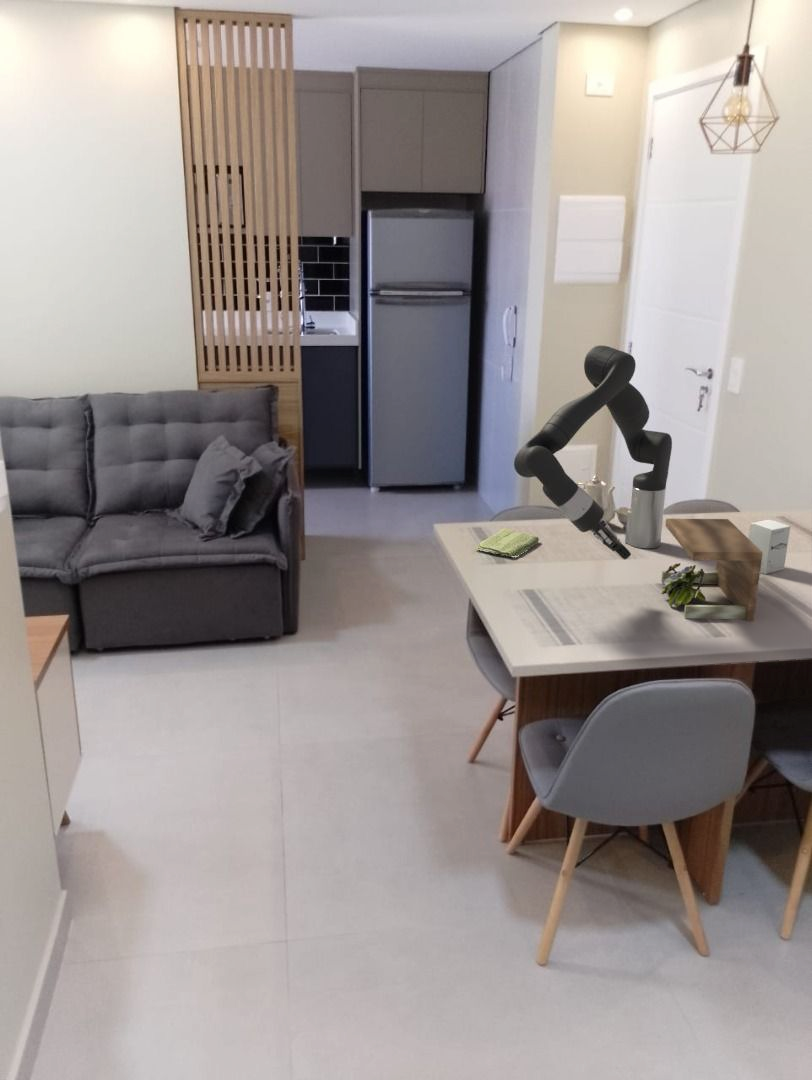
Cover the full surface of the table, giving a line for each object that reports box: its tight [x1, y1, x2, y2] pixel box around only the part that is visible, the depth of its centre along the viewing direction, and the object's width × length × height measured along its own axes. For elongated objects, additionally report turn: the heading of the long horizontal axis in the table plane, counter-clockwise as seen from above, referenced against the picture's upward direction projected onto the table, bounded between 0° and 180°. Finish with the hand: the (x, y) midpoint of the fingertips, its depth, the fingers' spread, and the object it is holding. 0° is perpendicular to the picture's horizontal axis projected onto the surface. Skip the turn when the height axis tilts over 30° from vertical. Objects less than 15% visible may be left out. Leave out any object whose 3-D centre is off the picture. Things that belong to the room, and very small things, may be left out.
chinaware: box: [575, 474, 631, 529], centre depth 274 cm, size 28×17×17 cm, turn 46°
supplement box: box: [747, 519, 791, 575], centre depth 236 cm, size 7×7×13 cm
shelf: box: [660, 518, 763, 622], centre depth 215 cm, size 16×25×17 cm, turn 178°
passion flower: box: [660, 562, 706, 608], centre depth 216 cm, size 11×11×12 cm
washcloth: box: [475, 528, 540, 558], centre depth 255 cm, size 13×18×3 cm
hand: (627, 556), depth 215 cm, fingers closed
